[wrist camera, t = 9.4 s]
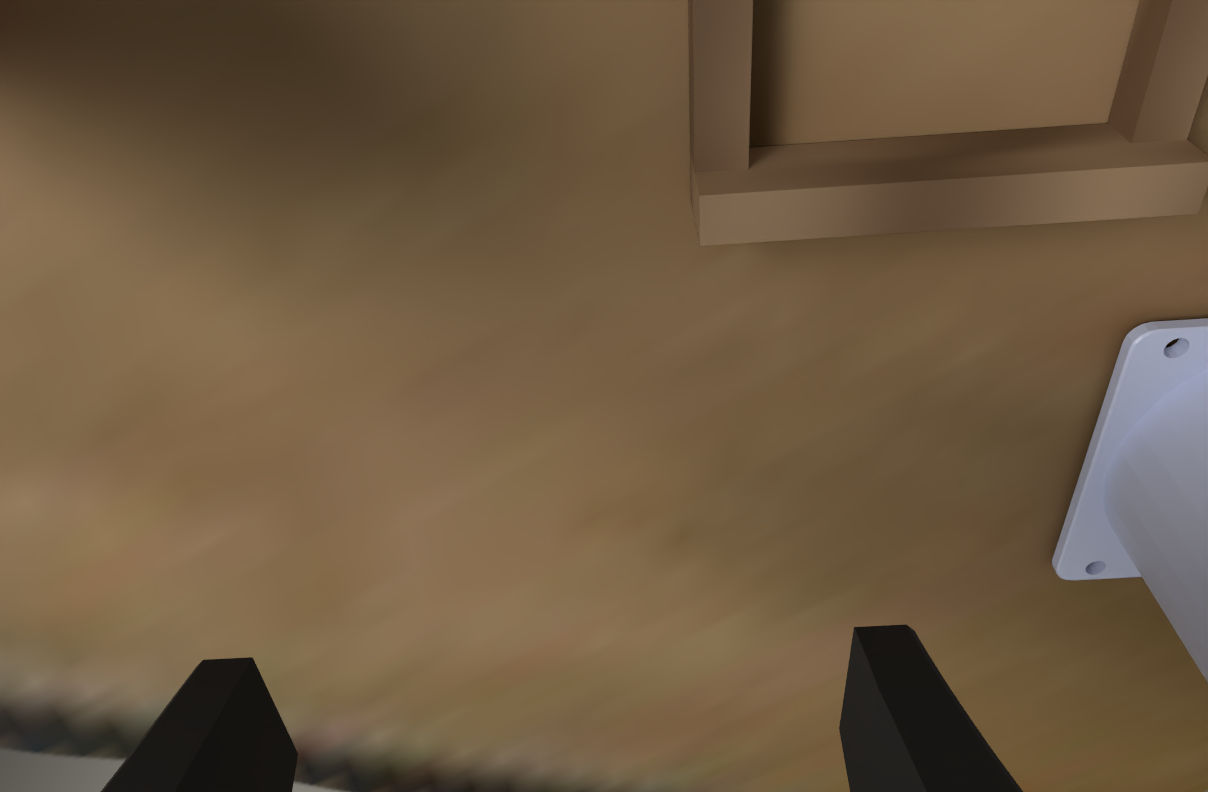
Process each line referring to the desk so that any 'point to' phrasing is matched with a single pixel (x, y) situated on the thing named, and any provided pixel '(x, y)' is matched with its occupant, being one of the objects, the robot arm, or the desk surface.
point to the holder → (947, 150)
